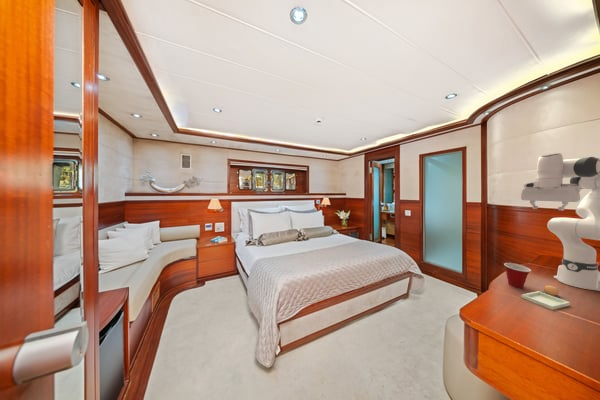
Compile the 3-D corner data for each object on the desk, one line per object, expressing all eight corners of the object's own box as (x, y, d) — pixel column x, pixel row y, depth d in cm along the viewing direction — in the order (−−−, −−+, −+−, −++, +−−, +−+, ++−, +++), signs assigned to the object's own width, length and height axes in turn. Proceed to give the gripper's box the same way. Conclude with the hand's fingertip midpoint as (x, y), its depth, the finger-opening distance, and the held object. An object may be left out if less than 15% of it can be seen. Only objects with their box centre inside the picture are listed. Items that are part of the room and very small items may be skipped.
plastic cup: (526, 292, 109) (527, 271, 109) (499, 284, 119) (500, 264, 118) (533, 288, 114) (534, 267, 113) (507, 280, 124) (508, 261, 123)
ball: (547, 292, 109) (547, 283, 108) (561, 296, 104) (561, 287, 104) (541, 293, 108) (541, 284, 107) (554, 298, 103) (555, 288, 102)
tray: (537, 294, 107) (538, 291, 107) (569, 306, 96) (570, 302, 96) (521, 298, 104) (521, 294, 104) (552, 310, 93) (552, 306, 93)
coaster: (545, 291, 110) (545, 289, 110) (565, 298, 103) (565, 296, 103) (537, 293, 108) (537, 291, 108) (556, 300, 101) (556, 298, 101)
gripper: (584, 183, 98) (582, 211, 99) (526, 184, 117) (525, 207, 118) (577, 183, 96) (575, 211, 97) (519, 184, 115) (518, 208, 116)
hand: (547, 209), depth 107 cm, fingers open, 8 cm apart
